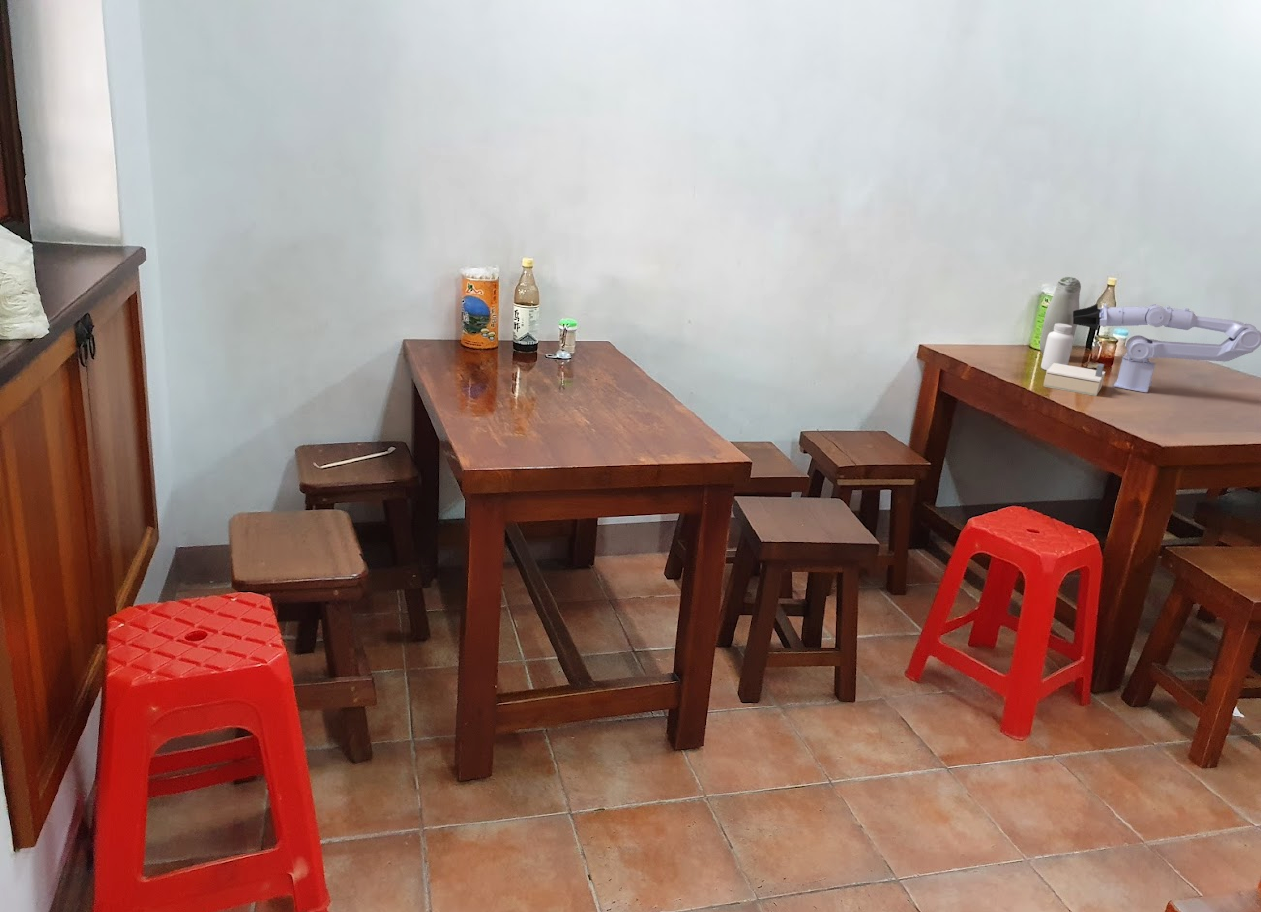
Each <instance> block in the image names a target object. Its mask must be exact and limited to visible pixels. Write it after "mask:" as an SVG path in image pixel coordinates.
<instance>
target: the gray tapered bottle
mask: <svg viewBox="0 0 1261 912" xmlns="http://www.w3.org/2000/svg"><path fill="white" fill-rule="evenodd" d="M1081 290H1082V285H1081V282H1080V280H1079V279H1077V278H1075V277H1072V276H1066V277H1062V278H1061V279H1060V280H1059V281H1058V282H1057V284H1056V288H1055V290H1054V293H1053V296H1052V298H1051V299H1050V302H1049V303H1048V306H1047V308H1046V311H1045V315H1044V317H1043V318H1044V319H1043V325H1042V329H1041V334H1040V340H1039V350H1040V353H1041V354H1042V355H1043V354H1044V350H1045V346H1046V341H1047V337H1048V334H1049V333H1050V332H1053V331H1054V326H1055V324H1057V323H1061V324H1067V325H1071V326H1072V331H1071V333H1070V334H1071V335H1073V337H1074V338H1075V334H1076V330H1077V326H1078V325H1076V324H1073V311H1075V310H1079V309H1080V296H1081Z"/></svg>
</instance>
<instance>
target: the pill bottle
mask: <svg viewBox="0 0 1261 912" xmlns="http://www.w3.org/2000/svg"><path fill="white" fill-rule="evenodd" d="M1071 331H1072V326H1071V325H1067V324H1061V323H1057V324H1055V326H1054V331H1053V332H1050V333H1049V334H1048V337H1047V341H1046V346H1045V350H1044V354H1042V359H1041V365H1040V368H1041V369H1042V370H1044V371H1047V370H1048V369H1049V368H1050V367H1051V365H1052V364H1053V363H1058V364H1064V365H1069V363H1070V357H1071V353H1072V349H1073V344H1074V342H1075V341H1074V340H1075V336H1074V337H1073V335H1071V334H1070V333H1071Z"/></svg>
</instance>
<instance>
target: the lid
mask: <svg viewBox="0 0 1261 912" xmlns="http://www.w3.org/2000/svg"><path fill="white" fill-rule="evenodd" d="M1104 367H1105V363H1098V364H1097V366H1096V369H1091V368H1087V367H1080V366H1076V365H1075V366H1074V365H1069V364H1068V365H1064V364H1058V363H1053V364H1052V365H1051V367H1050V368H1049V369H1048V370H1045V371H1046V372H1045V374H1046V373H1051V374H1056V375H1062V376H1068V377H1073V378H1079V379H1084V380H1090V381H1096V382H1100V381H1101V379H1102V377H1103V376H1104V374H1105V375H1106V371H1104ZM1104 377H1105V376H1104Z"/></svg>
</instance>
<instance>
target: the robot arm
mask: <svg viewBox="0 0 1261 912" xmlns="http://www.w3.org/2000/svg"><path fill="white" fill-rule="evenodd" d="M1103 305H1104V306H1103V307H1098V303H1095V304H1093V305H1091V306H1089V307H1084V308H1081V309H1080V308H1079V310H1075V311H1073V324H1076V325H1077V326H1083V327H1088V328H1091V329H1093V330H1095V331H1098V330H1099V326H1100V327H1104V328H1105V327H1118V326H1119V327H1120V326H1121V327H1126V326H1129V327H1130V326H1133V327H1134V326H1135V327H1136V326H1145V325H1149V326H1151V327H1154V328H1160V327H1162V326H1164V328H1165V327H1166V328H1169V329H1170V328H1171V329H1178V330H1185V331H1188V330H1191V329H1192V328H1197V329H1198V328H1200V329H1204V330H1210V331H1215V332H1220V333H1224V334H1225V335H1227V336H1228V338H1227V339H1225V340H1224V341H1223V342H1221V343H1220V344H1216V343H1215V344H1214V343H1197V342H1195V343H1193V342H1180V341H1177V342H1176V341H1167V340H1166V341H1163V340H1157V339H1152V338H1147V337H1145V336H1143V335H1134V336H1131V337H1130V338H1128V339H1127V341H1126V343H1125V348H1126V351H1127V352H1126V353H1125V354H1124V355H1123V356H1122V359H1121V363H1120V367H1119V372H1118V375H1117V380H1116V381H1115V382H1114V384H1113V388H1117V389H1124V390H1130V391H1135V392H1141V393H1148V392H1149V390H1150V387H1151V386H1152V382H1153V381H1152V378H1153V375H1154V370H1155V366H1156V363H1155V362H1152V361H1150V359H1153V360H1155V359H1158V358H1167V359H1181V360H1197V361H1208V362H1209V361H1211V362H1229V361H1233V360H1234V359H1237V358H1239V357H1242V356H1245V355H1248V354H1252V353H1253V352H1255V351H1256V350H1257V349H1258V348H1259V347H1260V346H1261V331H1260V330H1258V329H1257V328H1256V326H1255V325H1253V324H1251V323H1244V322H1241V321H1238V320H1232V319H1223V318H1217V317H1216V318H1215V317H1207V316H1199V315H1196V313H1195V312H1194V311H1192V310H1190V308H1187V307H1184V308H1183V309H1178V308H1173V307H1171V306H1169V305H1166V306H1165V307H1163V306H1161V305H1158V304H1157V303H1156V304H1151V305H1148V306H1109V307H1108V304H1107V303H1106V302H1105V303H1104V304H1103Z"/></svg>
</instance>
